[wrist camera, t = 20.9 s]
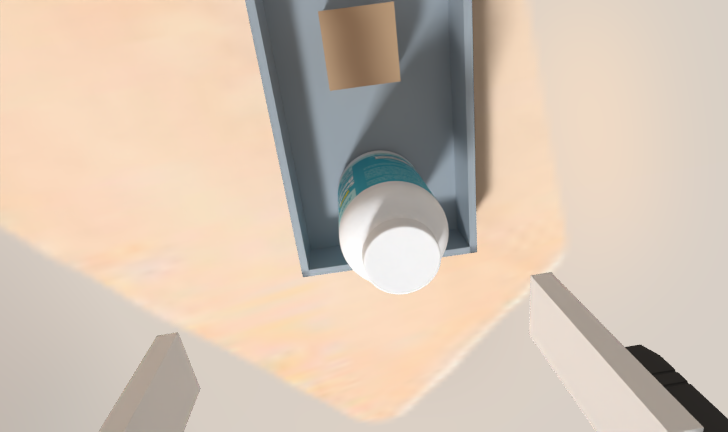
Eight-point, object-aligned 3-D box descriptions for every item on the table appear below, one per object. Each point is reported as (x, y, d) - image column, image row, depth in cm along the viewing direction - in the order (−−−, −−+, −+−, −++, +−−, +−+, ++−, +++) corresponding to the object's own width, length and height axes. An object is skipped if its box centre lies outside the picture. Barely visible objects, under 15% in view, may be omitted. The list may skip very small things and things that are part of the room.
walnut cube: (384, 9, 31) (393, 1, 26) (391, 77, 33) (400, 81, 28) (320, 18, 31) (317, 11, 26) (330, 85, 33) (329, 91, 28)
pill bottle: (331, 154, 35) (331, 210, 22) (416, 142, 35) (463, 192, 22) (343, 232, 38) (348, 321, 25) (421, 221, 38) (465, 304, 25)
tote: (238, -86, 29) (222, -110, 24) (449, -112, 29) (469, -141, 25) (306, 253, 39) (303, 277, 35) (461, 231, 39) (476, 252, 35)
